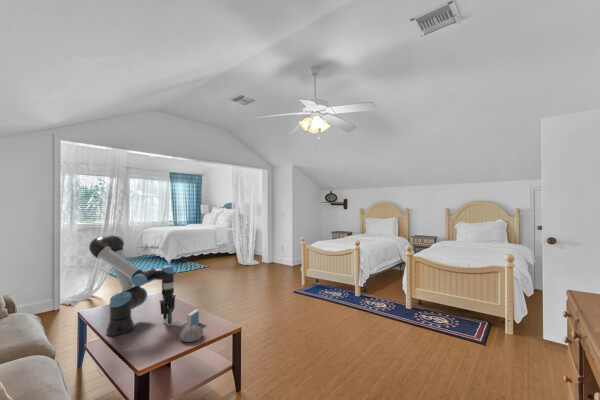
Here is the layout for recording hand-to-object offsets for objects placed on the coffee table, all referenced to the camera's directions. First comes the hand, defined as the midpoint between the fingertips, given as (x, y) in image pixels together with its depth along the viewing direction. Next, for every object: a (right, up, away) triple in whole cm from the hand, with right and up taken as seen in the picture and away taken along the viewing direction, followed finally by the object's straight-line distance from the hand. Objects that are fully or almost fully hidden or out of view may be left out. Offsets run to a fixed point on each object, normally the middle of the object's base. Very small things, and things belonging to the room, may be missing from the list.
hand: (167, 322), depth 191 cm
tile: (+19, 0, -5) cm, 20 cm away
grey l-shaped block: (+5, 0, -1) cm, 6 cm away
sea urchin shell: (+26, 0, -23) cm, 35 cm away
